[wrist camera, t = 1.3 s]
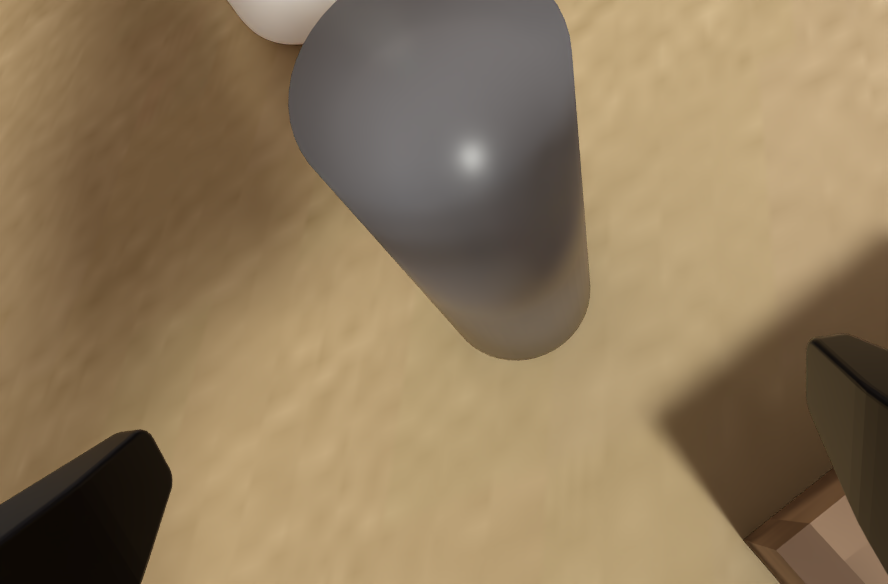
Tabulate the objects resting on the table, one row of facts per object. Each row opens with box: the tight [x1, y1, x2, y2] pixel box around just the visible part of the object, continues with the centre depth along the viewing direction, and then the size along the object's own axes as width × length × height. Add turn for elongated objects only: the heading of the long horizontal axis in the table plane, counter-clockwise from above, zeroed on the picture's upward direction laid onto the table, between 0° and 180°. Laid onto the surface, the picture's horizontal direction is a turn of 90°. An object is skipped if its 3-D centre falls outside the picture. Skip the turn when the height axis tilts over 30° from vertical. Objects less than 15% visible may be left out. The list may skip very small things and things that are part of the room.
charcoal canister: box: [288, 0, 590, 360], centre depth 17 cm, size 5×5×12 cm
